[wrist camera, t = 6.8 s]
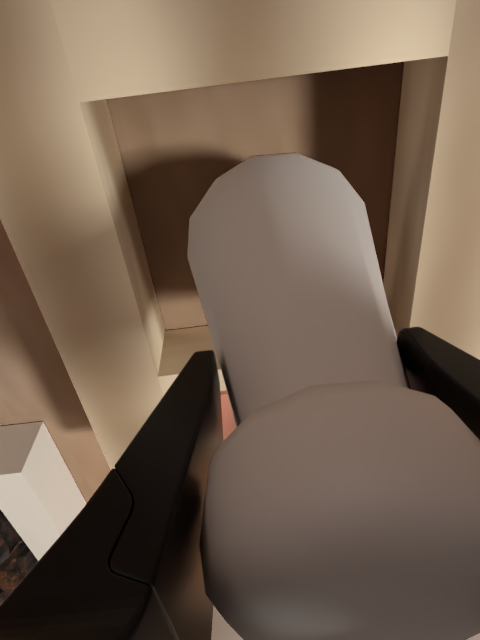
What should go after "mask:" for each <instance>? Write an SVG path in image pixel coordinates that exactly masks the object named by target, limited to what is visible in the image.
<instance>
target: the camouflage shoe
mask: <svg viewBox="0 0 480 640" xmlns="http://www.w3.org/2000/svg"><path fill="white" fill-rule="evenodd" d="M37 562H38V560H37V559H36V557H35V556H34V554H33V553H32V552H31V550H30V549H29V548H28V546H27V545H26V544H25V542H24V541H23V539H22V538H21V537H20V535H19V534H18V533H17V531H16V530H15V529H14V527H13V526H12V524H11V523H10V522H9V520H8V519H7V518H6V516H5V515H4V513H3V512H2V511H1V509H0V605H1V604H2V603H3V602H4V600H5V599H6V598H7V597H8V596H9V595H10V594H11V592H12V591H13V590H14V589H15V588H16V587H17V585H18V584H19V583H20V582H21V581H22V580H23V578H24V577H25V576H26V575H27V574H28V573H29V572H30V570H31V569H32V568H33V567H34V566H35V565H36V563H37Z"/></svg>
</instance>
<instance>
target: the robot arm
mask: <svg viewBox="0 0 480 640" xmlns="http://www.w3.org/2000/svg"><path fill="white" fill-rule="evenodd" d="M397 345H398V348H399V351H400V354H401V357H402V360H403V363H404V366H405V369H406V373H407V377H408V380H409V384H410V388H411V389H412V390H415V391H419V392H422V393H426V394H430V395H433V396H435V397H437V398H438V399H439V400H441V401H442V402H443V403H444V404H446V405H447V406H448V407H449V408H451V409H452V410H453V412H454V413H455V414H456V415H457V416H458V417H459V418H460V419H461V420H462V421H463V422H464V424H465V425H466V426H467V427H468V428H469V429H470V430H471V431H472V432H473V433H474V435H475V436H476V437H477V438H478V439H479V440H480V360H479V359H477V358H476V357H474V356H472V355H470V354H468V353H467V352H465V351H463V350H461V349H459V348H458V347H456V346H454V345H452V344H450V343H449V342H447V341H445V340H443V339H441V338H440V337H438V336H436V335H434V334H432V333H431V332H429V331H427V330H425V329H423V328H421V327H410V328H402V329H401V330H400V331H399V333H398V338H397ZM222 442H223V425H222V408H221V391H220V381H219V375H218V369H217V363H216V358H215V353H214V351H213V350H205V351H197V352H195V353H193V355H192V356H191V358H190V359H189V360H188V362H187V363H186V365H185V366H184V368H183V369H182V370H181V372H180V373H179V375H178V376H177V378H176V379H175V380H174V382H173V383H172V385H171V386H170V387H169V389H168V390H167V392H166V393H165V395H164V396H163V397H162V399H161V400H160V402H159V403H158V404H157V406H156V407H155V409H154V410H153V412H152V413H151V414H150V416H149V417H148V419H147V420H146V421H145V423H144V424H143V426H142V427H141V429H140V430H139V431H138V433H137V434H136V436H135V437H134V439H133V440H132V441H131V443H130V444H129V446H128V447H127V448H126V450H125V451H124V453H123V454H122V456H121V457H120V458H119V460H118V461H117V463H116V464H115V466H114V467H115V468H113V469H111V471H110V472H109V474H108V475H107V477H106V478H105V479H104V481H103V482H102V484H101V485H100V486H99V488H98V489H97V490H96V492H95V493H94V494H93V496H92V497H91V498H90V500H89V501H88V502H87V504H86V505H85V506H84V508H83V509H82V510H81V511H80V513H79V514H78V515H77V516H76V517H75V519H74V520H73V521H72V522H71V524H70V525H69V526H68V527H67V528H66V530H65V531H64V532H63V533H62V534H61V536H60V537H59V538H58V539H57V540H56V541H55V543H54V544H53V545H52V546H51V547H50V548H49V550H48V551H47V552H46V553H45V554H44V555H43V556H42V558H41V559H40V560H39V561H38V562H37V563H36V565H35V566H34V567H33V568H32V569H31V570H30V572H29V573H28V574H27V575H26V576H25V577H24V578H23V580H22V581H21V582H20V583H19V584H18V585H17V587H16V588H15V589H14V590H13V591H12V592H11V594H10V595H9V596H8V597H7V598H6V599H5V600H4V602H3V603H2V604H1V605H0V640H211V632H212V617H213V603H212V602H211V601H210V599H209V598H208V597H207V596H206V594H205V586H204V578H203V571H202V563H201V555H200V548H199V542H200V533H201V524H202V515H203V507H204V499H205V492H206V485H207V479H208V472H209V465H210V462H211V460H212V458H213V456H214V454H215V452H216V450H217V447H218V446H219V445H220V444H221V443H222Z"/></svg>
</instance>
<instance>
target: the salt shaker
mask: <svg viewBox="0 0 480 640" xmlns="http://www.w3.org/2000/svg"><path fill="white" fill-rule="evenodd" d="M187 258H188V261H189V264H190V268H191V271H192V274H193V278H194V281H195V284H196V288H197V291H198V294H199V298H200V301H201V304H202V308H203V311H204V314H205V318H206V321H207V324H208V328H209V331H210V334H211V337H212V341H213V344H214V347H215V351H216V354H217V357H218V361H219V364H220V367H221V371H222V374H223V378H224V382H225V386H226V390H227V394H228V397H229V401H230V405H231V409H232V413H233V417H234V420H235V424H236V429H235V430H234V431H233V432H232V433H231V434H230V435H229V436H228V437H227V438H226V439H225V440H224V441H223V442H222V443H221V444H220V445H219V446H218V447H217V450H216V452H215V454H214V456H213V458H212V460H211V462H210V465H209V472H208V479H207V485H206V492H205V499H204V507H203V515H202V524H201V533H200V542H199V548H200V555H201V563H202V571H203V578H204V586H205V594H206V596H207V597H208V598H209V599H210V601H211V602H212V603H213V605H214V606H215V607H216V609H217V610H218V611H219V613H220V614H221V615H222V617H223V618H224V619H225V620H226V622H227V623H228V624H229V625H230V626H231V627H232V628H233V629H234V630H235V631H236V632H237V633H238V634H239V635H240V636H241V637H242V638H243V639H244V640H466V639H468V638H470V637H472V636H474V635H476V634H478V633H480V440H479V439H478V438H477V437H476V436H475V435H474V433H473V432H472V431H471V430H470V429H469V428H468V427H467V426H466V425H465V424H464V422H463V421H462V420H461V419H460V418H459V417H458V416H457V415H456V414H455V413H454V412H453V410H452V409H451V408H449V407H448V406H447V405H446V404H444V403H443V402H442V401H441V400H439V399H438V398H437V397H435V396H433V395H430V394H426V393H422V392H419V391H415V390H412V389H411V388H410V384H409V380H408V377H407V373H406V369H405V366H404V363H403V360H402V357H401V354H400V351H399V348H398V345H397V336H396V333H395V329H394V325H393V322H392V318H391V314H390V311H389V307H388V303H387V299H386V295H385V290H384V286H383V282H382V277H381V273H380V268H379V264H378V260H377V255H376V251H375V246H374V242H373V238H372V233H371V229H370V224H369V220H368V216H367V211H366V207H365V203H364V201H363V200H362V199H361V198H360V196H359V195H358V194H357V192H356V191H355V190H354V189H353V187H352V186H351V185H350V184H349V182H348V181H347V180H346V178H345V177H344V176H343V175H342V173H341V172H340V171H339V170H337V169H335V168H333V167H331V166H328V165H326V164H323V163H321V162H318V161H316V160H313V159H311V158H308V157H306V156H303V155H301V154H298V153H296V152H295V153H283V154H270V155H257V156H251V157H249V158H248V159H246V160H245V161H243V162H242V163H240V164H238V165H237V166H235V167H234V168H232V169H231V170H229V171H227V172H226V173H224V174H223V175H221V176H220V177H218V178H216V179H215V181H214V182H213V184H212V185H211V187H210V188H209V190H208V191H207V193H206V194H205V196H204V197H203V199H202V200H201V202H200V203H199V205H198V206H197V208H196V209H195V211H194V212H193V214H192V215H191V217H190V219H189V236H188V253H187Z"/></svg>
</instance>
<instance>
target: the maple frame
mask: <svg viewBox="0 0 480 640" xmlns="http://www.w3.org/2000/svg"><path fill="white" fill-rule="evenodd" d="M396 62H404V68H403V78H402V89H401V100H400V110H399V121H398V131H397V142H396V153H395V163H394V174H393V185H392V195H391V206H390V217H389V227H388V238H387V248H386V259H385V270H384V280H383V286H384V290H385V295H386V299H387V303H388V307H389V311H390V314H391V318H392V322H393V325H394V329H395V333H396V336H397V338H398V333H399V331H400V330H401V329H402V328H410V327H421V328H423V329H425V330H427V331H429V332H431V333H432V334H434V335H436V336H438V337H440V338H441V339H443V340H445V341H447V342H449V343H450V344H452V345H454V346H456V347H458V348H459V349H461V350H463V351H465V352H467V353H468V354H470V355H472V356H474V357H476V358H477V359H479V360H480V0H0V220H1V222H2V224H3V227H4V229H5V231H6V234H7V236H8V238H9V240H10V243H11V245H12V247H13V249H14V252H15V254H16V256H17V258H18V261H19V263H20V265H21V268H22V270H23V272H24V274H25V277H26V279H27V281H28V283H29V286H30V288H31V290H32V293H33V295H34V297H35V299H36V302H37V304H38V306H39V308H40V311H41V313H42V315H43V317H44V320H45V322H46V324H47V327H48V329H49V331H50V333H51V336H52V338H53V340H54V342H55V345H56V347H57V349H58V351H59V354H60V356H61V358H62V361H63V363H64V365H65V367H66V370H67V372H68V374H69V376H70V379H71V381H72V383H73V386H74V388H75V390H76V392H77V395H78V397H79V399H80V401H81V404H82V406H83V408H84V410H85V413H86V415H87V417H88V420H89V422H90V424H91V426H92V429H93V431H94V433H95V435H96V438H97V440H98V442H99V444H100V447H101V449H102V451H103V454H104V456H105V458H106V460H107V463H108V465H109V467H110V469H113V468H115V467H114V466H115V464H116V463H117V461H118V460H119V458H120V457H121V456H122V454H123V453H124V451H125V450H126V448H127V447H128V446H129V444H130V443H131V441H132V440H133V439H134V437H135V436H136V434H137V433H138V431H139V430H140V429H141V427H142V426H143V424H144V423H145V421H146V420H147V419H148V417H149V416H150V414H151V413H152V412H153V410H154V409H155V407H156V406H157V404H158V403H159V402H160V400H161V399H162V397H163V396H164V395H165V393H166V392H167V390H168V389H169V387H170V386H171V385H172V383H173V382H174V380H175V379H176V378H177V376H178V375H179V373H180V372H181V370H182V369H183V368H184V366H185V365H186V363H187V362H188V360H189V359H190V358H191V356H192V355H193V353H195V352H197V351H205V350H213V351H214V353H215V358H216V363H217V369H218V375H219V381H220V391H221V408H222V425H223V441H224V440H225V439H226V438H227V437H228V436H229V435H230V434H231V433H232V432H233V431H234V430H235V429H236V424H235V420H234V417H233V413H232V409H231V405H230V401H229V397H228V394H227V390H226V386H225V382H224V378H223V374H222V371H221V367H220V364H219V361H218V357H217V354H216V351H215V347H214V344H213V341H212V337H211V334H210V331H209V328H208V326H201V327H193V328H184V329H175V330H167V331H165V329H164V325H163V321H162V317H161V313H160V309H159V305H158V301H157V297H156V293H155V289H154V285H153V282H152V278H151V274H150V270H149V266H148V262H147V258H146V254H145V250H144V246H143V242H142V238H141V234H140V230H139V226H138V222H137V218H136V214H135V210H134V206H133V202H132V199H131V195H130V191H129V187H128V183H127V179H126V175H125V171H124V167H123V163H122V159H121V155H120V151H119V147H118V143H117V139H116V135H115V131H114V127H113V123H112V120H111V116H110V112H109V108H108V104H107V100H106V99H112V98H120V97H127V96H135V95H143V94H151V93H159V92H167V91H175V90H183V89H191V88H199V87H207V86H214V85H222V84H230V83H238V82H246V81H254V80H262V79H270V78H278V77H286V76H294V75H301V74H309V73H317V72H325V71H333V70H341V69H349V68H357V67H365V66H373V65H381V64H388V63H396Z"/></svg>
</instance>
